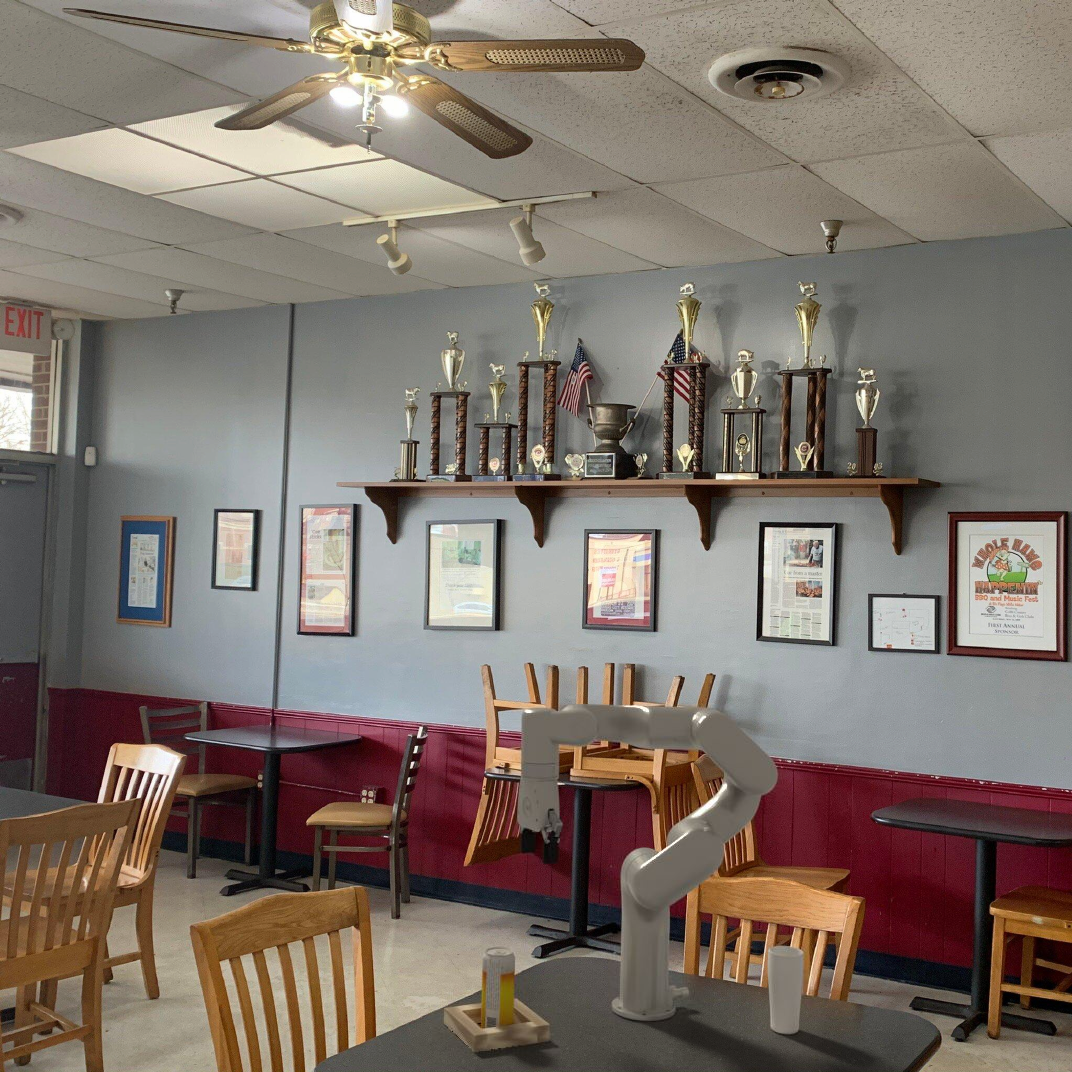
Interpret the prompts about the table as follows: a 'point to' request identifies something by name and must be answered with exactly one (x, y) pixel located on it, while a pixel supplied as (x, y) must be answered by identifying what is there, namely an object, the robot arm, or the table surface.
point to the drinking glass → (785, 987)
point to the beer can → (497, 987)
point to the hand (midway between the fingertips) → (539, 857)
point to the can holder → (496, 1028)
